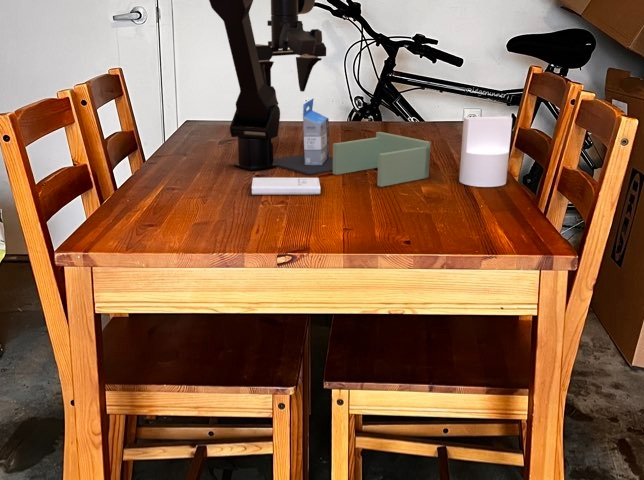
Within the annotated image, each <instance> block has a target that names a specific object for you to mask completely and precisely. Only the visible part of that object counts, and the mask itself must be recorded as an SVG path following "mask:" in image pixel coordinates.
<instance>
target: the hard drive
mask: <svg viewBox="0 0 644 480" xmlns="http://www.w3.org/2000/svg"><path fill="white" fill-rule="evenodd" d="M251 195H252V196H302V195H303V196H307V195H308V196H312V195H313V196H314V195H315V196H316V195H321V184H320V178H319V177H252V182H251Z"/></svg>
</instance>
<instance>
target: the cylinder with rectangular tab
mask: <svg viewBox="0 0 644 480" xmlns="http://www.w3.org/2000/svg"><path fill="white" fill-rule="evenodd" d="M512 127H513V117H511V116H508V115H503V116H502V115H500V116H499V115H495V116H493V115H492V116H463V123H462V136H461V149H460V162H459V174H458V175H459V176H458V177H459V178H458V182H459V183H461V184H463V185H466V186H471V187H478V188H480V187H481V188H494V187H502V186H505V185H506V184H507V178H508V169H509V168H508V167H509V160H510V159H509V157H510V147H511V137H512Z"/></svg>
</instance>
